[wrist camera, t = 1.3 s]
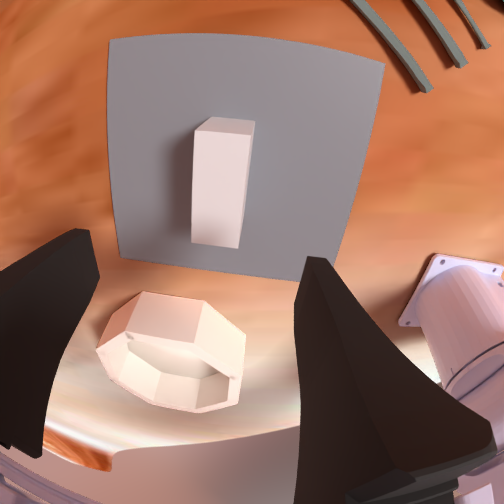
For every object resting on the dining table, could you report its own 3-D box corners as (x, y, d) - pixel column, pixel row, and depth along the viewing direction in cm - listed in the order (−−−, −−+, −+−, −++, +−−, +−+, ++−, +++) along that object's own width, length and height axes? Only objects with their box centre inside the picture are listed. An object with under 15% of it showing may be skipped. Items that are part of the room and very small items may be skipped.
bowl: (250, 306, 24) (246, 350, 21) (238, 383, 32) (235, 418, 28) (104, 284, 24) (83, 320, 20) (130, 365, 31) (119, 396, 28)
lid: (379, 63, 14) (415, 64, 10) (325, 276, 23) (334, 324, 19) (117, 40, 13) (72, 38, 9) (125, 250, 23) (99, 291, 18)
